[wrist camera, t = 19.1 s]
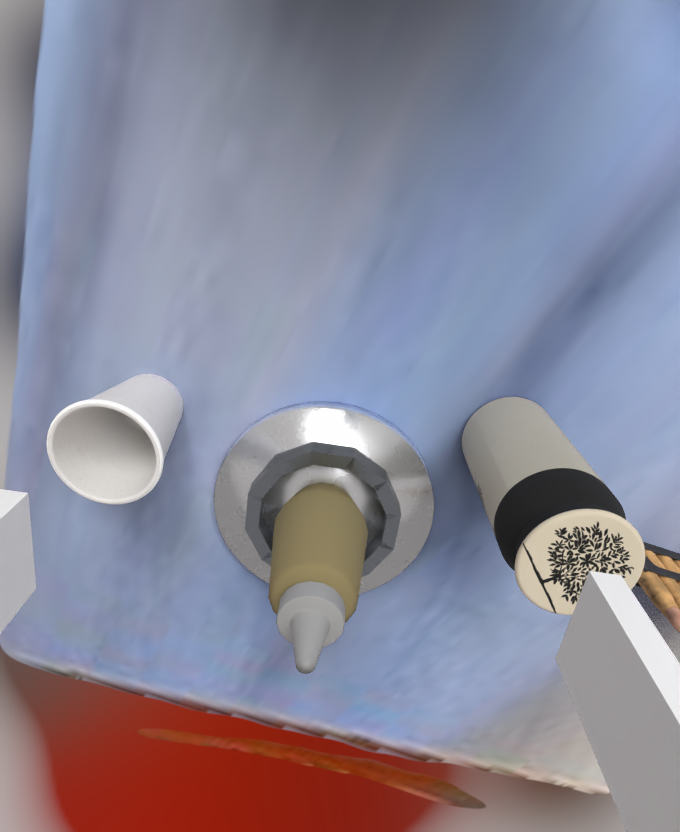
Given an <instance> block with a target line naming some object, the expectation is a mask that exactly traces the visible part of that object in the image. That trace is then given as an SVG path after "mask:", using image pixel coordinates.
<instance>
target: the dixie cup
mask: <svg viewBox="0 0 680 832" xmlns="http://www.w3.org/2000/svg"><path fill="white" fill-rule="evenodd" d="M183 408H184V405H183V400H182V397H181V395H180V393H179V391H178V390H177V388H176V387H175V386H174V385H173V384H172V383H171V382H169V381H168V380H167V379H165V378H163V377H161V376H158V375H154V374H140V375H137V376H134V377H132V378H130V379H128V380H126V381H124V382H122V383H120V384H118V385H116V386H114V387H112V388H110V389H108V390H106V391H104V392H102V393H100V394H98V395H96V396H94V397H92V398H90V399H88V400H83V401H79V402H76V403H74V404H71V405H69V406H68V407H66V408H65V409H63V410H62V411H61V412H60V413H59V414H58V415H57V416H56V417H55V419H54V420H53V422H52V423H51V425H50V428H49V431H48V435H47V452H48V456H49V459H50V462H51V464H52V466H53V468H54V470H55V472H56V473H57V475H58V476H59V477H60V479H61V480H62V481H63V482H64V483H65V484H66V485H67V486H68V487H69V488H71V489H72V490H73V491H75V492H76V493H78V494H79V495H81V496H83V497H85V498H87V499H90V500H92V501H95V502H99V503H104V504H125V503H130V502H133V501H136V500H138V499H140V498H142V497H144V496H145V495H147V494H148V493H149V492H150V491H151V490H152V489H153V488H154V487H155V486H156V484H157V483H158V481H159V479H160V477H161V474H162V470H163V464H164V459H165V457H166V454H167V452H168V449H169V447H170V444H171V442H172V440H173V437H174V435H175V432H176V430H177V427H178V425H179V422H180V420H181V418H182V415H183Z"/></svg>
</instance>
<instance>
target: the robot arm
mask: <svg viewBox="0 0 680 832" xmlns="http://www.w3.org/2000/svg"><path fill="white" fill-rule="evenodd" d="M35 590H36V580H35V568H34V556H33V544H32V532H31V520H30V508H29V496H28V493H25V492H17V491H10V490H3V489H0V634H1V632H2V631H3V630H4V629H5V627H6V626H7V625H8V624H9V622H10V621H11V620H12V619H13V617H14V616H15V615H16V614H17V612H18V611H19V610H20V608H21V607H22V606H23V605H24V603H25V602H26V601H27V600H28V598H29V597H30V596H31V595H32V593H33V592H34V591H35ZM555 659H556V661H557V664H558V666H559V669H560V671H561V673H562V676H563V678H564V681H565V683H566V686H567V688H568V691H569V693H570V695H571V698H572V700H573V703H574V705H575V708H576V710H577V712H578V715H579V717H580V720H581V722H582V725H583V727H584V729H585V732H586V734H587V737H588V739H589V742H590V744H591V747H592V749H593V751H594V754H595V756H596V759H597V761H598V764H599V766H600V768H601V771H602V773H603V776H604V778H605V781H606V783H607V786H608V788H609V790H610V793H611V795H612V798H613V800H614V802H615V805H616V807H617V810H618V812H619V815H620V817H621V820H622V822H623V824H624V827H625V829H626V832H680V663H679V662H678V660H677V659H676V657H675V656H674V654H673V653H672V651H671V650H670V648H669V647H668V645H667V644H666V642H665V641H664V639H663V638H662V636H661V635H660V633H659V632H658V630H657V629H656V627H655V626H654V624H653V623H652V621H651V620H650V618H649V617H648V615H647V614H646V612H645V611H644V609H643V608H642V606H641V604H640V603H639V601H638V600H637V598H636V597H635V595H634V594H633V592H632V591H631V589H630V588H629V586H628V585H627V583H626V582H625V580H624V579H623V577H622V576H621V575H615V574H608V573H601V572H593V571H589V573H588V576H587V578H586V581H585V583H584V586H583V589H582V591H581V594H580V596H579V599H578V601H577V604H576V607H575V609H574V612H573V614H572V617H571V619H570V622H569V625H568V627H567V630H566V632H565V635H564V638H563V640H562V643H561V645H560V648H559V650H558V653H557V656H556V658H555Z"/></svg>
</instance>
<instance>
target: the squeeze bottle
mask: <svg viewBox="0 0 680 832" xmlns="http://www.w3.org/2000/svg"><path fill="white" fill-rule="evenodd" d="M367 537H368V529H367V525H366V522H365V518H364V515H363V514H362V513H361V511H360V510H359V508H358V507H357V505H356V504H355V502H354V501H353V499H352V498H351V497H350V496H349V495H348V493H347V492H346V491H345V490H343V489H342V488H340V487H338V486H336V485H334V484H328V483H322V482H321V483H316V484H311V485H308V486H306V487H305V488H303V489H301V490H300V491H298V492H297V493H296V494H295V495H294V496H293V497H292V498H291V499H290V500H289V501H287V502H286V503H285V504H284V506H283V507H282V509H281V510H280V512H279V513H278V515H277V516H276V518H275V525H274V532H273V544H272V557H271V570H270V584H269V600H270V603H271V606H272V609H273V611H274V612H275V613H276V614H277V621H276V623H277V626H278V629H279V632H280V634H281V635H282V636H283V637H284V638H285V639H286V640H287V641H288V642H290V643H292V644H293V648H294V655H295V663H296V668H297V670H298V671H299V672H301V673H305V674H307V673H311V672H313V670H314V669H315V666H316V664H317V661H318V658H319V656H320V653H321V650H322V648H323V647H326V646H328V645H330V644H332V643H333V642H335V641H336V640H337V639H338V638H339V637H340V635H341V634H342V633H343V629H344V624H345V622H347V620H348V619H349V618H350V617H351V615H352V614H353V613H354V612H355V610H356V606H357V601H358V597H359V590H360V583H361V577H362V570H363V563H364V557H365V550H366V543H367Z"/></svg>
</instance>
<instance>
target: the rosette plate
mask: <svg viewBox="0 0 680 832" xmlns="http://www.w3.org/2000/svg"><path fill="white" fill-rule="evenodd" d="M321 482H322V483H328V484H334V485H336V486H338V487H340V488H342V489H343V490H345V491H346V492H347V493H348V495H349V496H350V497H351V498H352V499H353V501H354V502H355V504H356V505H357V507H358V508H359V510H360V511H361V513H362V514H363V515H364V518H365V522H366V525H367V529H368V537H367V543H366V550H365V557H364V563H363V570H362V577H361V583H360V590H359V594H360V593H364V592H366V591H369V590H372V589H375V588H377V587H379V586H381V585H383V584H385V583H387V582H388V581H390V580H391V579H393V578H394V577H396V576H398V575H399V574H400V573H401V572H402V571H403V570H405V569H406V568H407V567H408V566H409V565H410V564H411V563H412V561H413V560H414V559H415V558H416V557H417V555H418V554H419V552H420V551H421V549H422V548H423V546H424V544H425V542H426V540H427V538H428V535H429V532H430V529H431V526H432V521H433V515H434V498H433V491H432V485H431V481H430V478H429V474H428V471H427V468H426V465H425V463H424V461H423V459H422V457H421V455H420V454H419V452H418V451H417V449H416V448H415V446H414V445H413V443H412V442H411V441H410V440H409V439H408V438H407V437H406V435H405V434H404V433H402V432H401V431H400V430H399V429H398V428H397V427H395V426H394V425H393V424H391V423H390V422H388V421H387V420H385V419H384V418H382V417H380V416H378V415H376V414H374V413H372V412H370V411H368V410H365V409H362V408H359V407H356V406H352V405H347V404H343V403H335V402H308V403H302V404H296V405H292V406H288V407H285V408H282V409H279V410H277V411H275V412H272V413H270V414H268V415H266V416H265V417H263V418H261V419H260V420H258V421H256V422H255V423H254V424H253V425H251V426H250V427H249V428H248V429H246V430H245V431H244V432H243V433H242V435H241V436H240V437H239V438H238V439H237V440H236V441H235V443H234V444H233V446H232V447H231V449H230V450H229V452H228V454H227V456H226V458H225V460H224V462H223V464H222V466H221V468H220V471H219V474H218V477H217V480H216V485H215V492H214V508H215V515H216V520H217V523H218V526H219V530H220V532H221V534H222V536H223V538H224V541H225V543H226V544H227V546H228V547H229V549H230V550H231V552H232V553H233V554H234V556H235V557H236V558H237V559H238V560H239V561H240V563H242V564H243V565H244V566H245V567H246V568H247V569H248V570H249V571H250V572H252V573H253V574H255V575H256V576H257V577H259V578H260V579H262V580H264V581H265V582H267V583H269V584H270V570H271V557H272V544H273V532H274V525H275V518H276V516H277V515H278V513H279V512H280V510H281V509H282V507H283V506H284V504H285V503H286V502H287V501H289V500H290V499H291V498H292V497H293V496H294V495H295V494H296V493H297V492H298V491H300V490H301V489H303V488H305V487H306V486H308V485H311V484H316V483H321Z"/></svg>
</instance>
